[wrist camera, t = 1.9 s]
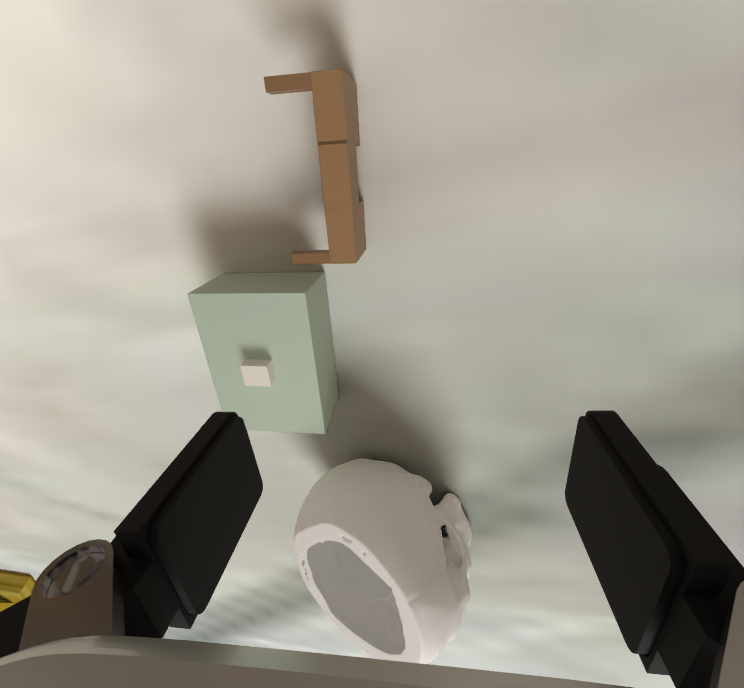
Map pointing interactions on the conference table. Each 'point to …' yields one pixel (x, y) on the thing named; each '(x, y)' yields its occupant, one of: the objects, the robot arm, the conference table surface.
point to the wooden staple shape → (333, 160)
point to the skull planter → (385, 559)
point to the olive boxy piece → (14, 588)
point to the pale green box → (270, 348)
